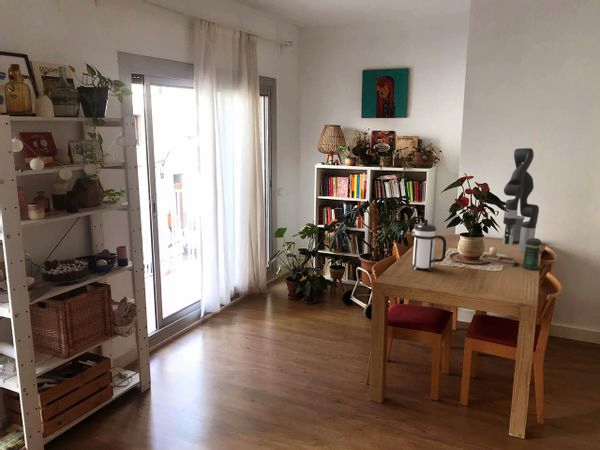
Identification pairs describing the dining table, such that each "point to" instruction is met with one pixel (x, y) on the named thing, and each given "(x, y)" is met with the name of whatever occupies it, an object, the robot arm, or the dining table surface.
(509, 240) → the sage block
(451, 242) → the dining table surface
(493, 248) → the peach oval shape
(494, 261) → the walnut tray
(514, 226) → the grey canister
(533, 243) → the coffee jar
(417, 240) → the coffee press
